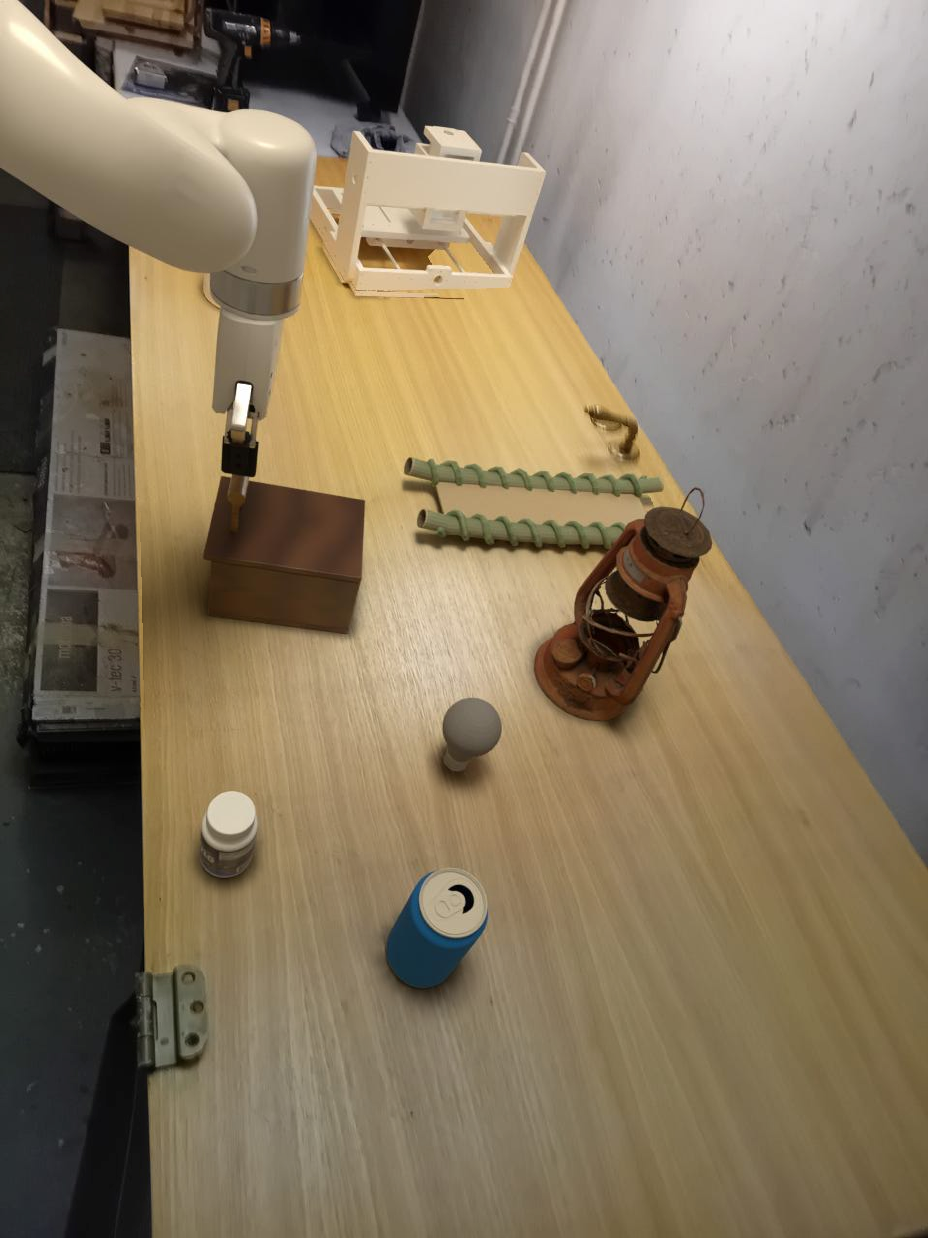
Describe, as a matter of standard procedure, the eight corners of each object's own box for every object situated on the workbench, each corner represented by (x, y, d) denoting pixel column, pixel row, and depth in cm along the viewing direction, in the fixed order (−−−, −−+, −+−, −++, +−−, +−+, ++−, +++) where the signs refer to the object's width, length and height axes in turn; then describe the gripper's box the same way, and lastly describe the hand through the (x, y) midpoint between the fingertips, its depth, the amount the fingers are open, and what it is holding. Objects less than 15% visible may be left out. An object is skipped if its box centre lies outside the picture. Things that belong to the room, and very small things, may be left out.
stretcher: (415, 549, 107) (424, 522, 103) (398, 475, 115) (405, 448, 112) (681, 559, 120) (697, 535, 117) (647, 492, 129) (661, 468, 125)
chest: (208, 615, 91) (211, 561, 85) (224, 537, 99) (228, 482, 93) (347, 634, 95) (360, 583, 88) (352, 556, 103) (364, 505, 97)
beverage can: (468, 966, 74) (508, 917, 65) (408, 1005, 70) (442, 958, 62) (430, 904, 77) (464, 849, 68) (371, 938, 73) (398, 885, 64)
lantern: (515, 624, 103) (609, 434, 81) (605, 620, 108) (715, 440, 86) (559, 740, 93) (678, 558, 71) (655, 730, 98) (795, 557, 76)
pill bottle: (194, 836, 75) (196, 792, 69) (246, 825, 77) (253, 781, 71) (204, 885, 72) (207, 844, 66) (258, 871, 74) (266, 830, 68)
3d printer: (455, 218, 176) (483, 87, 157) (519, 300, 159) (558, 165, 140) (296, 213, 161) (306, 69, 142) (348, 303, 145) (366, 153, 126)
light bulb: (488, 783, 87) (517, 733, 80) (435, 791, 85) (460, 740, 77) (472, 735, 90) (498, 683, 83) (420, 741, 88) (443, 688, 81)
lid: (203, 560, 85) (205, 513, 80) (220, 480, 93) (223, 434, 88) (360, 583, 88) (371, 540, 84) (364, 505, 97) (374, 461, 92)
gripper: (225, 223, 74) (219, 383, 86) (193, 326, 62) (191, 493, 75) (309, 242, 75) (291, 397, 88) (292, 346, 64) (274, 506, 77)
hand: (245, 441), depth 81 cm, fingers open, 9 cm apart
